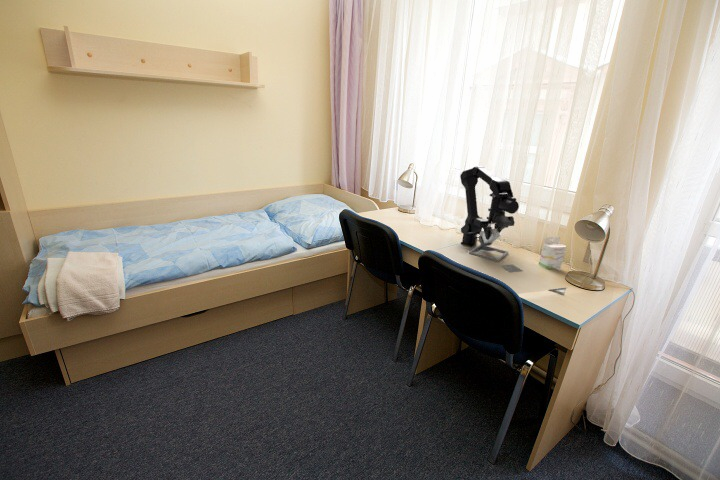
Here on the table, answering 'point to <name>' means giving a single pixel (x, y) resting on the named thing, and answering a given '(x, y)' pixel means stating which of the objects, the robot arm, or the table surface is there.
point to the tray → (487, 248)
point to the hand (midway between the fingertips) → (491, 239)
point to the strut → (492, 237)
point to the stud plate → (511, 268)
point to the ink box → (552, 253)
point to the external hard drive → (558, 290)
